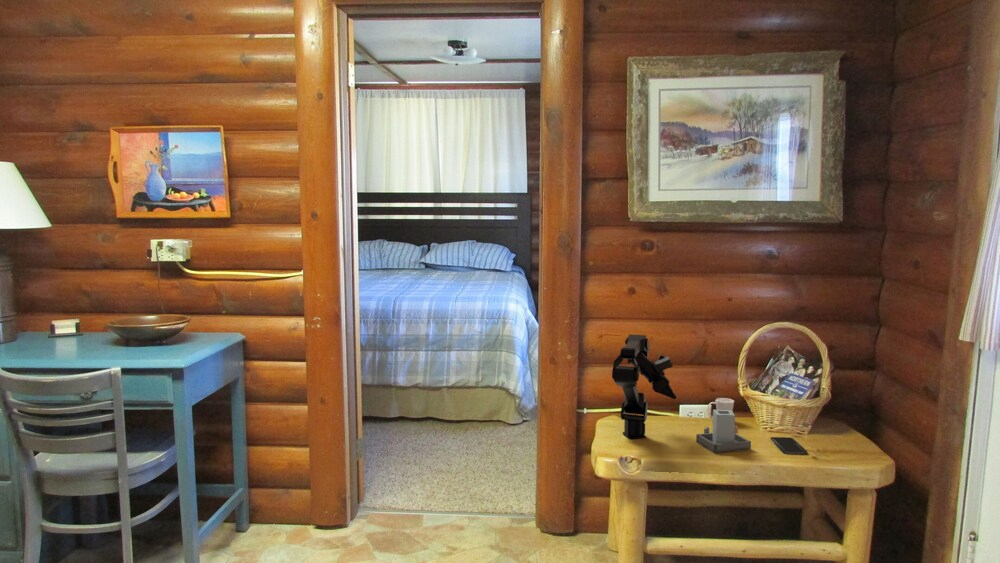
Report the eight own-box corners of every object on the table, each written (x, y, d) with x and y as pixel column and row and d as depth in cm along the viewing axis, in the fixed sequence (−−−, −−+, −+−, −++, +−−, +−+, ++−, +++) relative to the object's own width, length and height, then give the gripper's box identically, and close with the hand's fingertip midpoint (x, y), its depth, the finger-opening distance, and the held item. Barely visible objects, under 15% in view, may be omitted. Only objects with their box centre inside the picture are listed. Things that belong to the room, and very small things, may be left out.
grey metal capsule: (705, 437, 233) (705, 428, 232) (703, 435, 234) (703, 427, 234) (710, 436, 233) (710, 428, 233) (707, 435, 235) (707, 426, 234)
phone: (784, 452, 215) (769, 437, 230) (784, 455, 215) (769, 440, 230) (808, 452, 214) (792, 437, 229) (808, 455, 214) (792, 440, 229)
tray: (714, 453, 216) (714, 445, 216) (696, 442, 228) (696, 434, 227) (750, 449, 219) (750, 441, 219) (730, 438, 231) (731, 430, 230)
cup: (735, 423, 247) (736, 403, 247) (708, 422, 249) (708, 402, 248) (732, 418, 254) (732, 398, 254) (705, 417, 256) (706, 397, 255)
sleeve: (716, 446, 221) (716, 414, 220) (712, 440, 227) (713, 409, 226) (739, 446, 220) (739, 415, 219) (734, 440, 226) (735, 410, 225)
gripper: (662, 355, 228) (694, 386, 228) (656, 344, 247) (685, 373, 247) (639, 376, 230) (671, 407, 230) (635, 364, 249) (664, 393, 248)
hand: (673, 394), depth 239 cm, fingers open, 9 cm apart
